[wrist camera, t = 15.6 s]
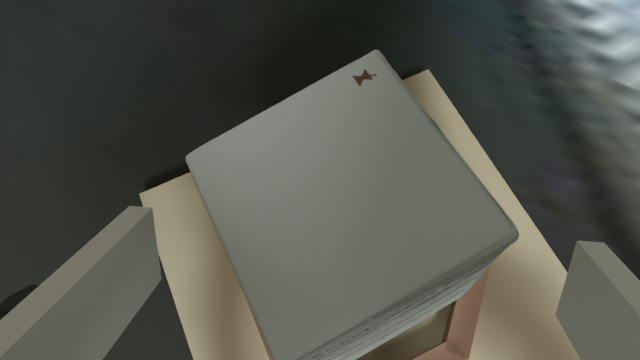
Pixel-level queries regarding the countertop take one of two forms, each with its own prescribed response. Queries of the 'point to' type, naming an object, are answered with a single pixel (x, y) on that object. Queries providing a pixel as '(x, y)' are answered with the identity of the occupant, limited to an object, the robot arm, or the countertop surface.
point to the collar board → (414, 343)
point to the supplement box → (347, 214)
